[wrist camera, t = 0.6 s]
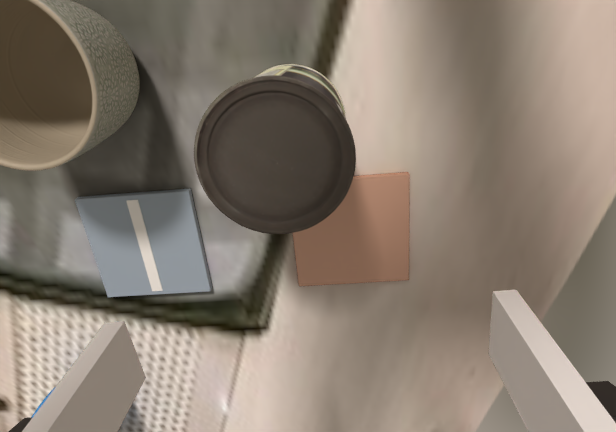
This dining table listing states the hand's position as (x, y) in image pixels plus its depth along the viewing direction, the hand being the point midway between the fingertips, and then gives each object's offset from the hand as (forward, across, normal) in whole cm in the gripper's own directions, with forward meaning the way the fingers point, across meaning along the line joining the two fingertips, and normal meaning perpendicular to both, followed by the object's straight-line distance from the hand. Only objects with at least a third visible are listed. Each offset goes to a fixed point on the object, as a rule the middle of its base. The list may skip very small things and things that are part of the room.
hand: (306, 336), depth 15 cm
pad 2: (+27, +2, -9) cm, 29 cm away
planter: (+28, -20, +9) cm, 35 cm away
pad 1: (+27, -20, -9) cm, 35 cm away
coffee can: (+28, -2, +3) cm, 28 cm away
